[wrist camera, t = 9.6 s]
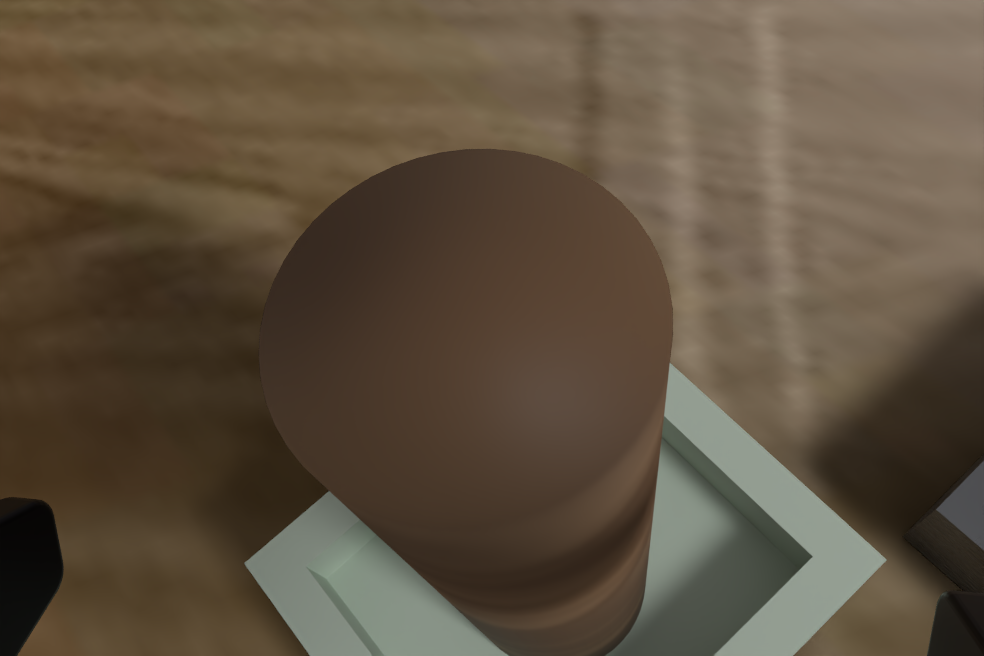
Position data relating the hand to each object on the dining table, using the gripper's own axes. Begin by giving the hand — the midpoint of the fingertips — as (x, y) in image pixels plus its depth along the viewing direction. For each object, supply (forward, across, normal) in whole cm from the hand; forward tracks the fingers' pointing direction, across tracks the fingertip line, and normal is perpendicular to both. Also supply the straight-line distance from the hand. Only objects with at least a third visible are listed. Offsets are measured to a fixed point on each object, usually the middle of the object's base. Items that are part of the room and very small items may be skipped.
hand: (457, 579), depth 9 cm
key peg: (+10, 0, +7) cm, 12 cm away
